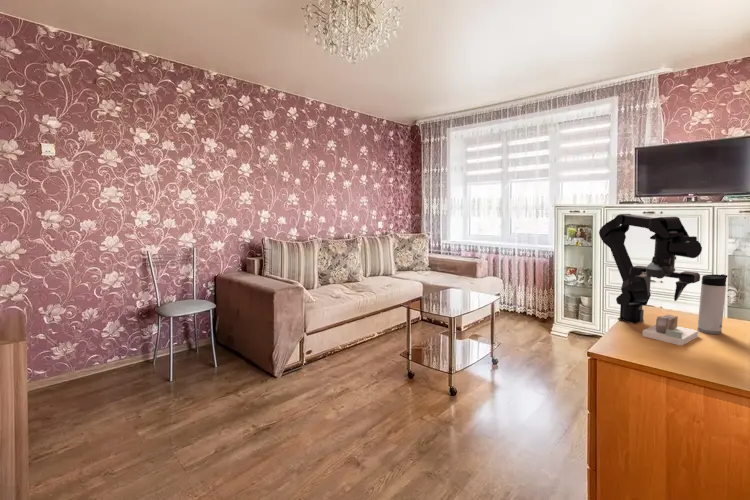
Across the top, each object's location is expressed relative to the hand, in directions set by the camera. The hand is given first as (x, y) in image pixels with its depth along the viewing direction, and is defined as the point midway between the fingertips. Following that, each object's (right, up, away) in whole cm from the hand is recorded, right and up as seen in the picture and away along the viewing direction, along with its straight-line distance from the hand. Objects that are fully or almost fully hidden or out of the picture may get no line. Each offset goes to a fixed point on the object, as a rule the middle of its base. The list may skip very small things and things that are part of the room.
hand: (661, 298), depth 132 cm
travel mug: (+17, -12, 0) cm, 21 cm away
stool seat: (+1, -12, -3) cm, 13 cm away
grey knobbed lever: (-1, -10, -3) cm, 11 cm away
